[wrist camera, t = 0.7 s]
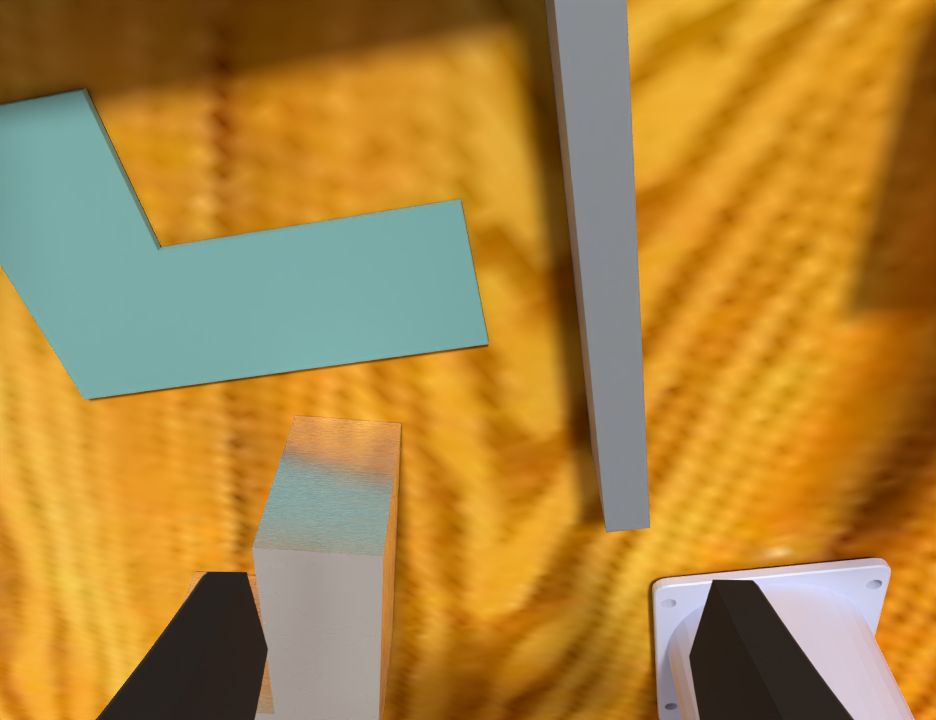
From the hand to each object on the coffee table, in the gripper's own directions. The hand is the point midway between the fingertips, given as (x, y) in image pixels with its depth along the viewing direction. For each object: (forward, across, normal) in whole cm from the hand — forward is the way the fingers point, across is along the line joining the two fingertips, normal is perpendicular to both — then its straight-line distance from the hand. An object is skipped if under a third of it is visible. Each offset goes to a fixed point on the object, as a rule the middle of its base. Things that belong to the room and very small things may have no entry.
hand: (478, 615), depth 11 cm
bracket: (+10, +6, +9) cm, 15 cm away
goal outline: (+10, +6, -2) cm, 12 cm away
